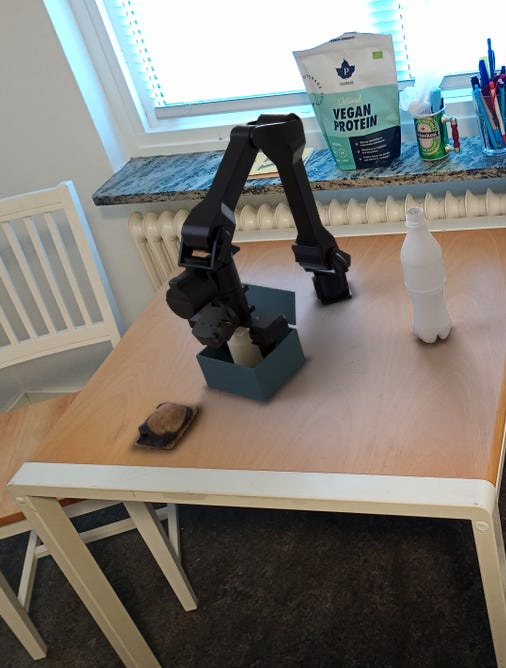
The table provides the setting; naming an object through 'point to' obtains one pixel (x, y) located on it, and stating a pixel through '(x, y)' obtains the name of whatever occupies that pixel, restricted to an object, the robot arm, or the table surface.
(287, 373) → the carton
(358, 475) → the table surface
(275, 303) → the flap
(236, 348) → the candle
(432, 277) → the water bottle
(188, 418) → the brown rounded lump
